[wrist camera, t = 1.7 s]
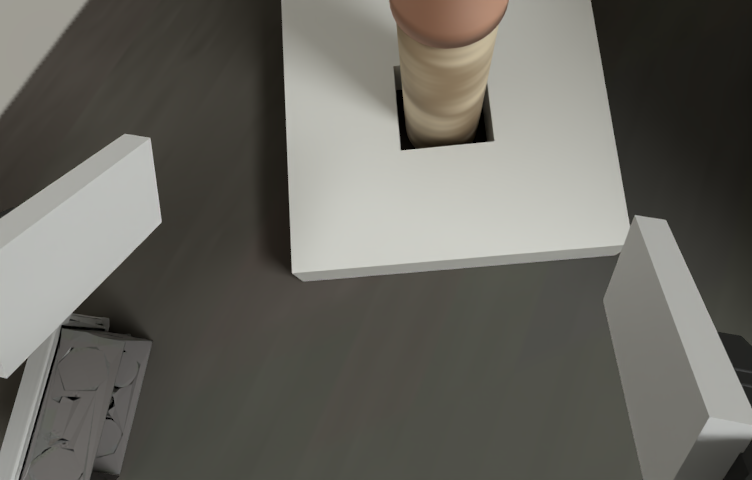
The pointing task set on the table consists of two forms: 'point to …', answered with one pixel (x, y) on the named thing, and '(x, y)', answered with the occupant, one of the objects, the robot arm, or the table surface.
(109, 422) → the electrical switch
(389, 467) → the table surface
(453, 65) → the plug
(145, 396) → the table surface
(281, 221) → the table surface
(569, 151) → the socket block
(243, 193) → the table surface
